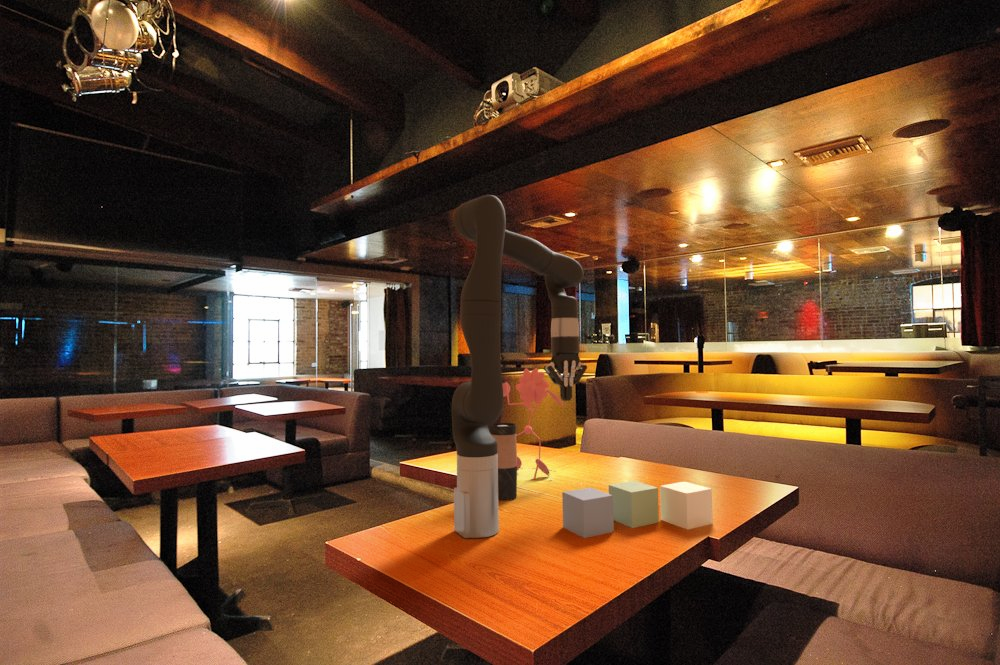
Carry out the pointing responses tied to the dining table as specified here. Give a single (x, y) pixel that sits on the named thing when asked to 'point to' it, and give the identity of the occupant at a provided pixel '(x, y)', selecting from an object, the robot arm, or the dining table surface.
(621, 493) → the sage block
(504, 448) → the travel mug
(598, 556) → the dining table surface
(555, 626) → the dining table surface
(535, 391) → the pink flower figurine
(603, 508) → the slate block
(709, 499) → the ivory block
